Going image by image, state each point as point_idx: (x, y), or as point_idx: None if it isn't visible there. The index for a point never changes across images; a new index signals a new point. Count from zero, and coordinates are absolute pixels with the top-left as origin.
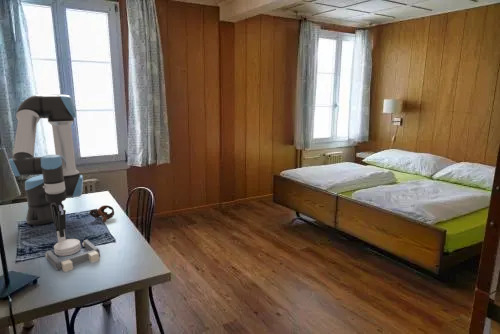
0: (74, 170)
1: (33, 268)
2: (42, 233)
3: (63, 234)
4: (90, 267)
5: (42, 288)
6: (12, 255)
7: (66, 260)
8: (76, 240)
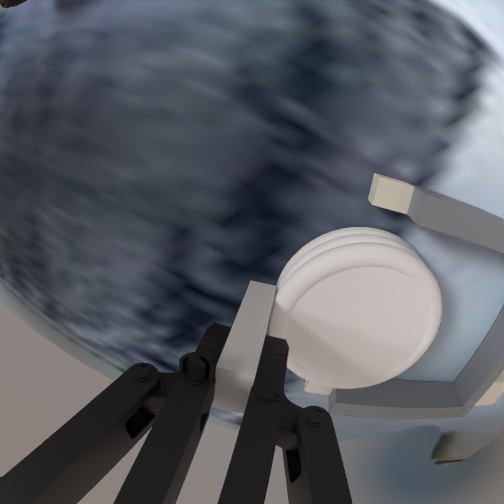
0: None
1: (355, 425)
2: (32, 247)
3: (286, 361)
4: None
5: (470, 428)
6: None
7: (485, 391)
8: (376, 266)
